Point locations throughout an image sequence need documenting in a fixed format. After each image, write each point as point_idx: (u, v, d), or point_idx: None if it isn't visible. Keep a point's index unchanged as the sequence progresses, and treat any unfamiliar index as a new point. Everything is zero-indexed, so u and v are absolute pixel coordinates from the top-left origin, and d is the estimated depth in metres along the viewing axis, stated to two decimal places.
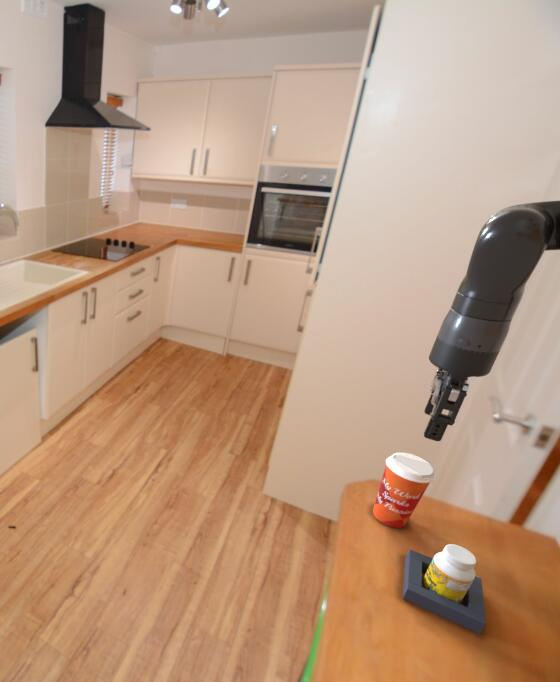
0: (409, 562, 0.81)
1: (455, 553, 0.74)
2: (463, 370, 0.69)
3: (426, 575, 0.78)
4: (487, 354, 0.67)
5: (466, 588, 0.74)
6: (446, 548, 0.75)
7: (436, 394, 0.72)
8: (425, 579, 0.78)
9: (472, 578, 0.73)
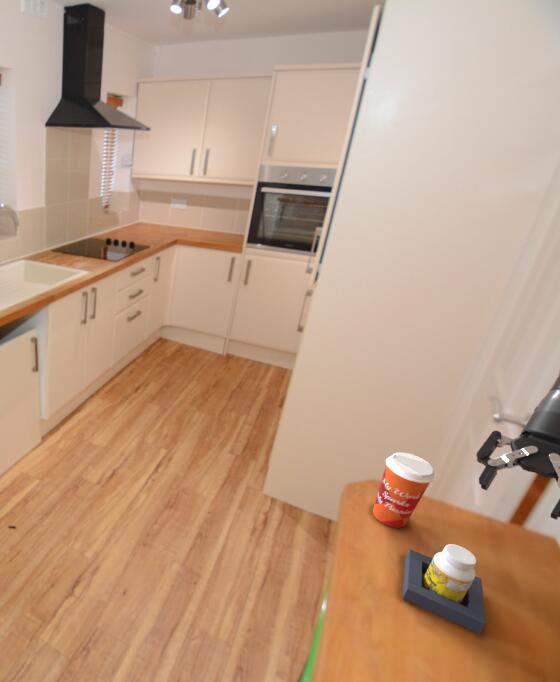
0: (409, 562, 0.81)
1: (455, 553, 0.74)
2: None
3: (426, 575, 0.78)
4: None
5: (466, 588, 0.74)
6: (446, 548, 0.75)
7: None
8: (425, 579, 0.78)
9: (472, 578, 0.73)
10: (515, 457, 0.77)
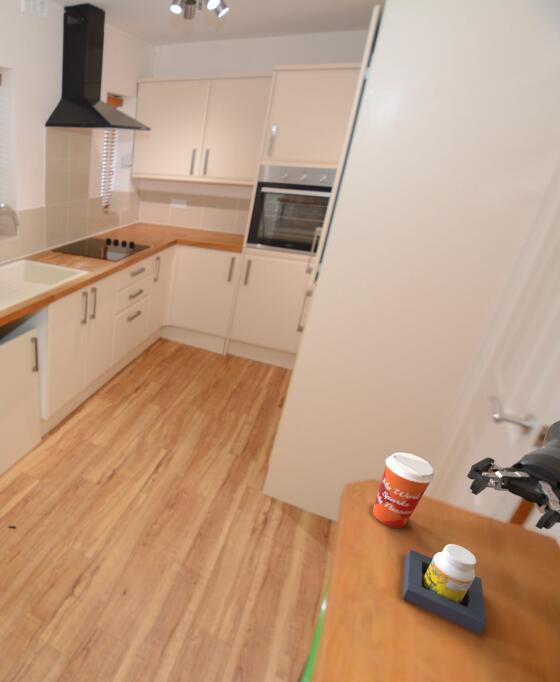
0: (409, 562, 0.81)
1: (455, 553, 0.74)
2: None
3: (426, 575, 0.78)
4: None
5: (466, 588, 0.74)
6: (446, 548, 0.75)
7: None
8: (425, 579, 0.78)
9: (472, 578, 0.73)
10: (508, 475, 0.81)
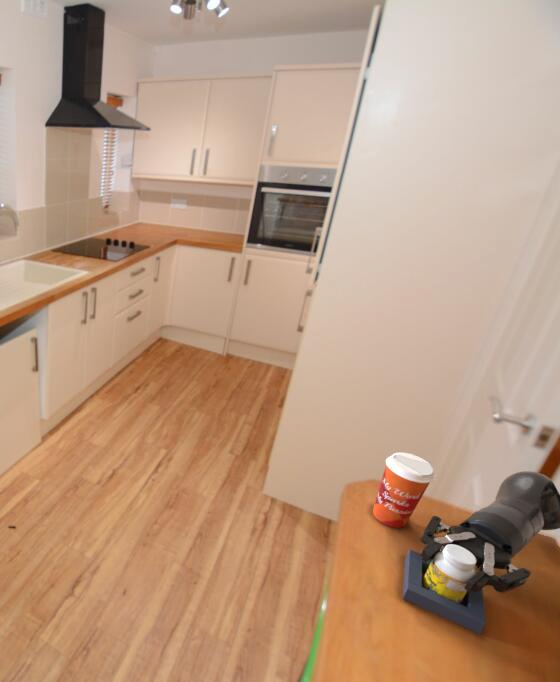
0: (409, 562, 0.81)
1: (455, 553, 0.74)
2: (512, 557, 0.77)
3: (426, 575, 0.78)
4: None
5: None
6: (446, 548, 0.75)
7: (493, 559, 0.75)
8: (425, 579, 0.78)
9: None
10: (454, 535, 0.79)
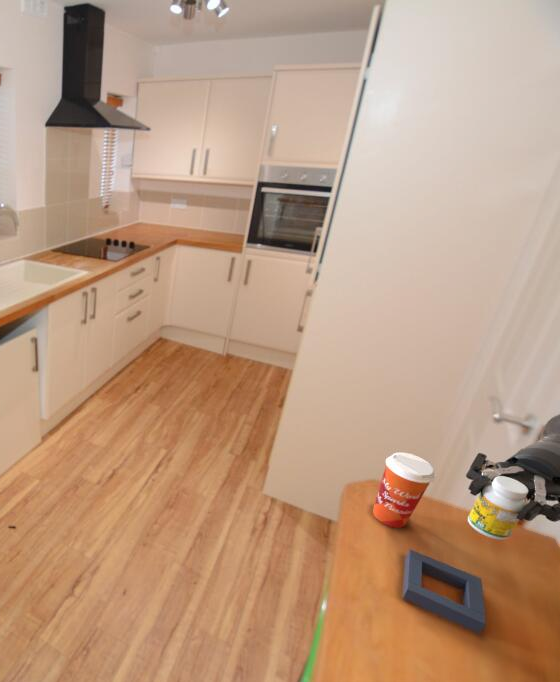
0: (409, 562, 0.81)
1: (506, 484, 0.73)
2: None
3: (474, 509, 0.77)
4: None
5: (517, 519, 0.73)
6: (496, 479, 0.74)
7: None
8: (473, 513, 0.77)
9: None
10: (502, 469, 0.77)
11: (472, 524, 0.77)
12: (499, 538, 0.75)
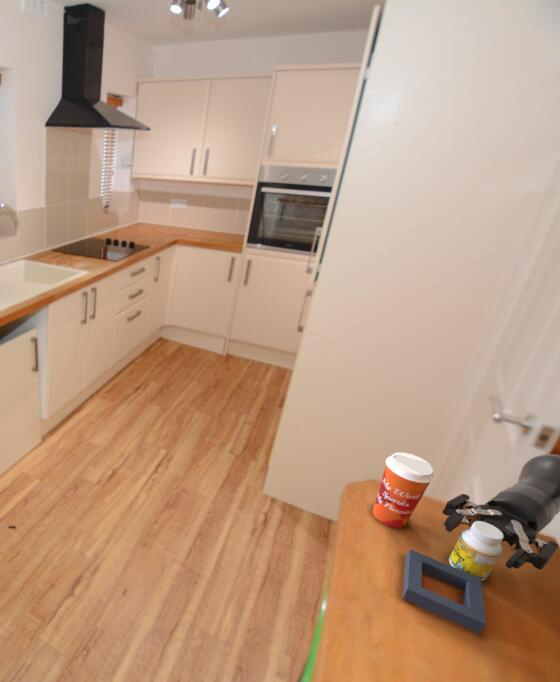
0: (409, 562, 0.81)
1: (483, 529, 0.79)
2: (537, 533, 0.81)
3: (454, 551, 0.82)
4: None
5: (493, 562, 0.78)
6: (474, 525, 0.80)
7: None
8: (453, 555, 0.82)
9: (499, 552, 0.77)
10: (482, 513, 0.83)
11: (453, 565, 0.83)
12: None
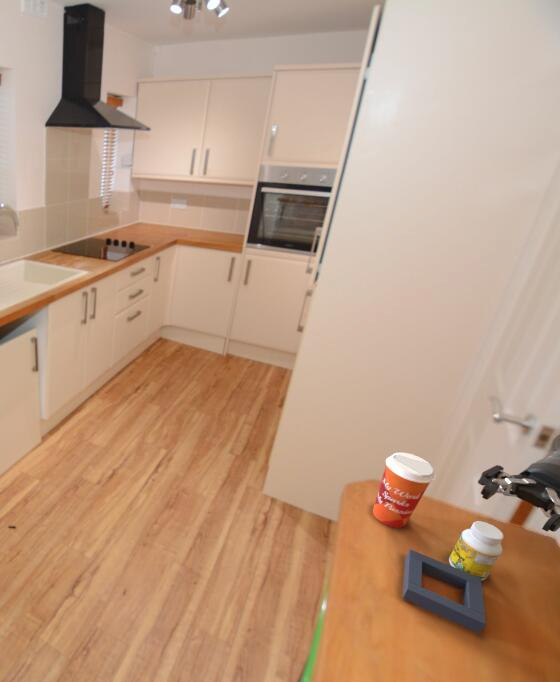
0: (409, 562, 0.81)
1: (483, 529, 0.79)
2: None
3: (454, 551, 0.82)
4: None
5: (493, 562, 0.78)
6: (474, 525, 0.80)
7: None
8: (453, 555, 0.82)
9: (499, 552, 0.77)
10: (517, 482, 0.87)
11: (453, 565, 0.83)
12: None
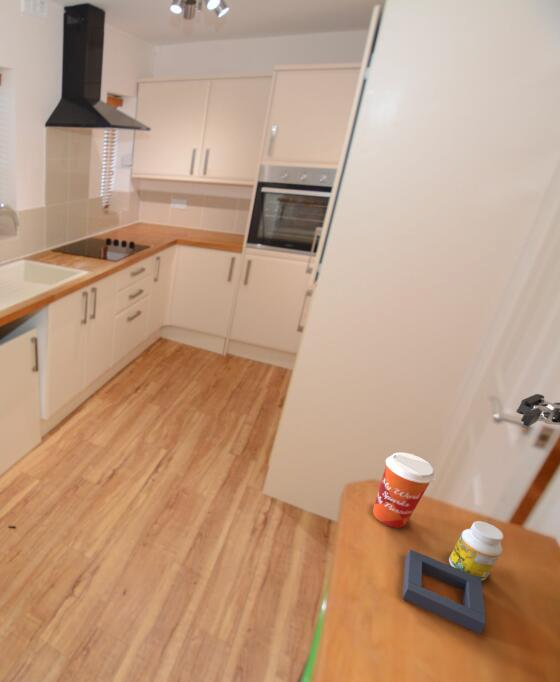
0: (409, 562, 0.81)
1: (483, 529, 0.79)
2: None
3: (454, 551, 0.82)
4: None
5: (493, 562, 0.78)
6: (474, 525, 0.80)
7: None
8: (453, 555, 0.82)
9: (499, 552, 0.77)
10: None
11: (453, 565, 0.83)
12: None
